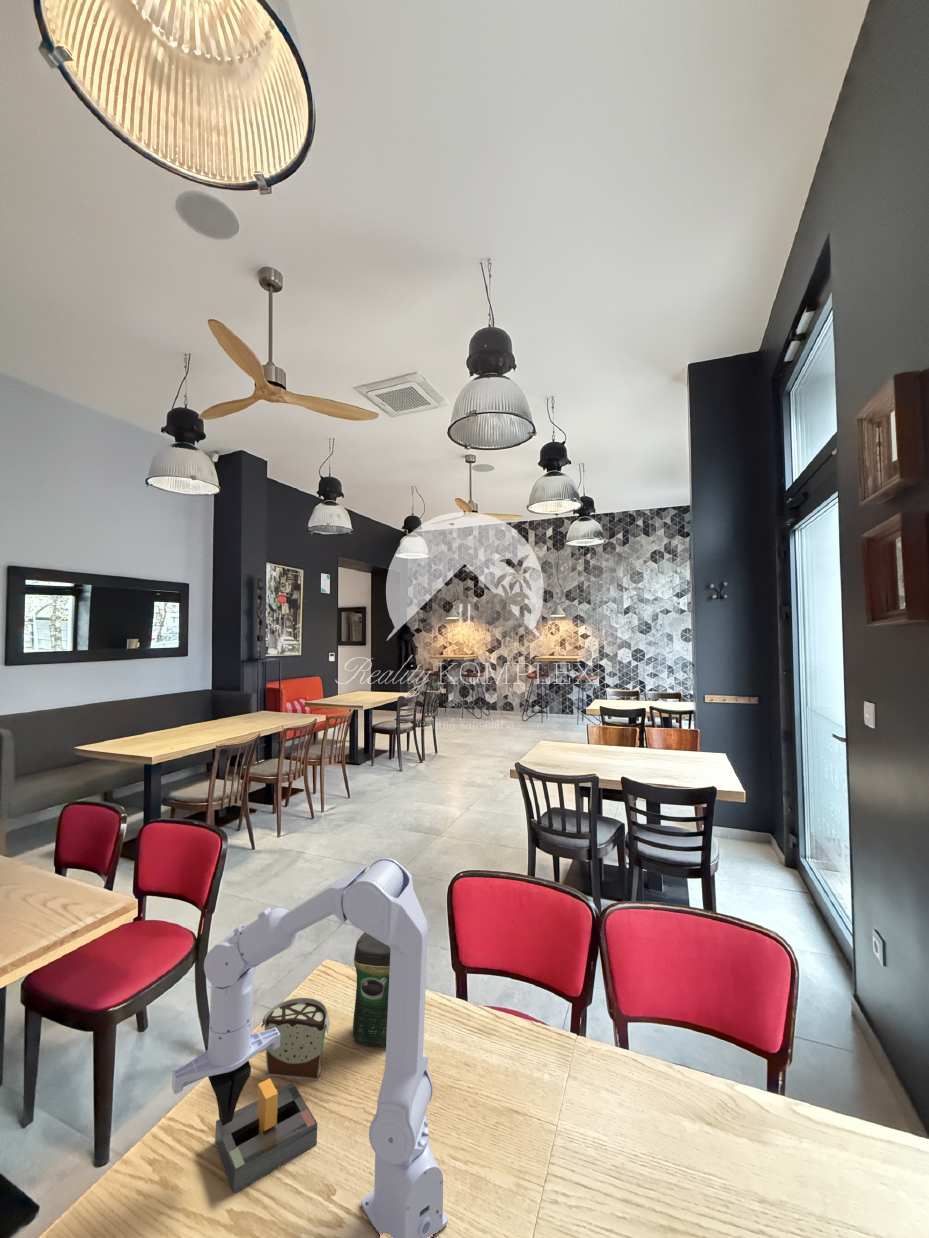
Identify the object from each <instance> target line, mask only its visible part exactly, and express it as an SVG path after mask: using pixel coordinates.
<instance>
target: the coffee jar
mask: <svg viewBox="0 0 929 1238" xmlns="http://www.w3.org/2000/svg"><path fill="white" fill-rule="evenodd" d="M390 951H391V950H390V947H389V946H388V945H386V944H384V943H382V942H381V941H379V940H377V939H375V938H374V937H372V936H370V935H369V934H367V933H365V932H363V933H362V934H361V936H360V937H359V938H358V939H357V941H356V944H355V950H354V957H353V964H354V968H355V972H356V987H355V988H356V989H355V990H356V991H355V1002H354V1009H353V1018H352V1028H351V1029H352V1034H351V1035H352V1038H353V1040H354V1041H355V1042H356V1043H358V1044H359V1045H363V1046H370V1047H383V1048H384V1047H385V1048H386V1036H387V1015H388V993H389V972H390Z"/></svg>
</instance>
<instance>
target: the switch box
mask: <svg viewBox="0 0 929 1238" xmlns="http://www.w3.org/2000/svg"><path fill="white" fill-rule="evenodd" d="M276 1090H277V1092H278V1106H277V1124H276V1125H275V1126H274V1127H272V1128H270V1129H268V1130H266V1131H264V1132H263V1133H261V1134H259V1118H258V1116H257V1102H258V1099H257V1100H254V1101H253V1102H251V1103H248V1104H246V1105H245V1106H242V1107H241V1108H239V1109H237V1110H235V1112H234V1115H233V1120H232V1121H231V1122H229V1123H227V1124H226V1125H224V1126H222V1124H221V1121H220V1119H217V1120H216V1121H215V1133H214V1134H215V1136H214V1143H215V1147H216V1149H217V1152H218V1155H219V1158H220V1160H221V1164H222V1165H223V1169H224V1171H225V1175H226V1177H227V1180H228V1183H229V1186H230V1188H231V1192H232V1194H233V1195H235V1194H238V1193H239V1192H240V1191H242V1190H244V1189H246V1188H247V1187H249V1186H250V1185H249V1184H251V1183H252V1182H254V1181H256V1180H257V1181H259V1180H261V1179H262V1178H264V1177H265V1176H267V1175H269V1174H271V1173H272V1172H274V1171H275V1170H277V1169H279V1168H280V1167H282V1166H283V1165H285V1164H287V1163H289V1162H290V1161H292V1160H293V1159H295V1158H297V1157H298V1156H300V1155H302V1154H304V1153H305V1152H307V1151H309V1150H310V1149H311V1148H313V1147H316V1145H318V1144H317V1143H318V1121H317V1120H316V1119H315V1117H314V1115H313V1113H312V1111H311V1110H310V1108H309V1106H308V1105H307V1104H306V1101H305V1100H304V1098H303V1096H302V1094H301V1093H300V1091H299V1090H298V1088H297V1086H296V1084H295V1083H294V1081H292V1082H290V1083H288V1084H286V1085H284V1086H282V1087H280V1088H278V1089H276ZM284 1163H285V1164H284ZM281 1165H282V1166H281ZM279 1166H280V1167H279ZM278 1167H279V1168H278ZM273 1170H274V1171H273ZM268 1173H269V1174H268ZM266 1174H267V1175H266ZM264 1175H265V1176H264ZM263 1176H264V1177H263ZM261 1177H262V1178H261ZM260 1178H261V1179H260ZM258 1179H259V1180H258ZM257 1181H256V1182H257ZM254 1183H255V1182H254ZM252 1184H253V1183H252ZM252 1184H251V1185H252ZM248 1185H249V1186H248Z"/></svg>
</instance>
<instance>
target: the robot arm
mask: <svg viewBox="0 0 929 1238" xmlns="http://www.w3.org/2000/svg"><path fill="white" fill-rule="evenodd" d="M368 866H369V865H368V864H367V865H363V866H360V867H359V868H357V869H355V870H353V871H351V872H350V873H348V874H346V875H344V876H342V877H340V878H338V879H337V880H335V881H334V882H332V883H331V884H329V885H327V886H325V887H324V888H323V889H321V890H319V891H318V892H316V893H315V894H313V895H312V896H310V897H308V898H307V899H306V900H303V901H302V902H301V903H299V904H298V905H295V906H294V907H293V908H291V909H290V910H288V909H287V908H284V907H276V908H274V909H272V910H271V908H270V907H267V908H265V909H264V910H262V911H261V912H260V913H258V914H257V917H258V918H256V919H255V920H253V921H251V922H249V923H248V924H247V925H244V924H243V923H242V924H240V925H238V926H237V927H236V928H235V929H234V930H233V931H232V932H231V933H229V935H227V936H226V937H224V938H223V939H222V940H221V941H220V942H218V943H217V944H215V945H214V946H213V947H211V949H210V950H209V951H208V953H206V956H205V958H204V962H203V970H204V975H205V978H207V980H208V982H209V983H210V984H211V988H210V989H211V990H210V1007H209V1008H210V1009H209V1027H208V1044H207V1047H208V1048H207V1050H206V1051H204V1052H202V1053H201V1054H199V1055H198V1056H196V1057H195V1058H194V1059H192V1060H190V1061H189V1062H187V1063H186V1064H185V1065H182V1066H181V1067H179V1068H177V1069H175V1070H172V1073H171V1074H172V1075H171V1076H172V1077H171V1089H172V1092H173V1094H174V1095H177V1094H179V1093H181V1092H183V1090H184V1088H185V1087H187V1086H189V1085H191V1084H193V1083H197V1082H198V1081H201V1080H203V1079H205V1078H208V1080H209V1082H210V1085H211V1088H212V1090H213V1092H214V1095H215V1100H216V1102H217V1108H218V1109H217V1110H218V1118H219V1119H220V1121H221V1124H222V1126H224V1125H226V1124H227V1123H229V1122H231V1121H232V1120H233V1115H234V1112H235V1111H236V1108H237V1104H238V1101H239V1098H240V1096H241V1093H242V1091H243V1089H244V1087H245V1085H246V1083H247V1081H248V1080H249V1079H250V1076H251V1072H252V1065H251V1064H250V1060H251V1059H253V1057H255V1056H257V1055H258V1054H260V1053H263V1052H266V1050H267V1049H269V1048H272V1049H276V1048H278V1047H280V1033H279V1031H278V1030H277V1028H276V1027H275V1028H273V1029H270V1030H266V1031H265V1030H263V1031H258V1032H253V1033H252V1009H253V1007H252V1005H253V990H254V989H253V988H254V975H255V973H256V967H258V966H259V965H261V964H262V963H265V962H267V961H269V960H270V959H272V958H273V957H275V956H277V955H279V954H280V953H282V952H283V951H286V950H287V949H289V948H291V946H293V944H294V942H295V940H296V938H297V933H299V932H300V931H303V930H305V929H307V928H308V927H311V926H313V925H314V924H316V923H318V922H320V921H322V920H324V919H326V918H329V917H330V916H332V915H334V916H335V917H336V918H337V920H339V921H340V922H341V923H346V922H347V920H348V922H350V923H351V925H353V926H354V927H355V928H357V929H358V930H360V931H362V932H363V933H364V932H365V933H367V934H369V935H370V936H372V937H374V938H375V939H377V940H379V941H381V942H382V943H384V944H386V945H388V946H389V947H390V950H391V951H390V972H389V993H388V1015H387V1036H386V1047H385V1058H384V1059H385V1060H384V1061H385V1063H384V1071H383V1076H382V1080H381V1084H380V1088H379V1092H378V1096H377V1104H376V1105H377V1107H376V1113H375V1114H374V1115H373V1117H372V1119H371V1122H370V1125H369V1129H368V1139H369V1143H370V1146H371V1148H372V1150H373V1152H374V1190H372V1191H371V1192H369V1193H368V1194H367V1195H365V1196H364V1197H363V1198H362V1199H361V1207H362V1209H363V1210H364V1213H365V1214H366V1216H367V1217H368V1219H369V1221H370V1223H371V1225H372V1226H373V1228H374V1227H375V1228H376V1229H375V1228H374V1229H375V1231H376V1230H377V1231H378V1232H379V1233H380V1234H381V1235H382V1234H383V1233H387V1234H390V1235H391V1237H393V1238H427V1237H430V1236H431V1235H433V1234H435V1233H436V1234H437V1233H438V1232H440V1231H441V1230H442V1229H443V1228H444V1227H446V1226H447V1225H448V1223H449V1222H448V1221H449V1218H448V1216H447V1214H446V1213H445V1212H444V1177H443V1172H442V1170H441V1167H439V1164H438V1163H437V1161H436V1160H435V1157H434V1154H433V1153H432V1148H431V1143H430V1138H429V1137H430V1131H429V1130H430V1129H429V1122H428V1119H427V1115H426V1112H427V1109H428V1106H429V1103H430V1102H431V1100H432V1097H433V1093H434V1083H433V1078H432V1076H431V1073H430V1071H429V1066H428V1064H429V1063H428V1061H429V1056H428V1055H427V1054H425V1053H424V1039H425V1038H424V1035H425V1018H426V1017H425V1011H426V989H427V988H426V987H427V986H426V985H427V966H428V964H427V963H428V942H429V941H428V940H429V939H428V936H429V925H428V921H427V919H426V916H425V914H424V911H423V909H422V906H421V904H420V901H419V899H418V897H417V895H416V893H415V890H414V885H413V876H412V874H411V872H409V871H408V870H407V869H406V868H405V867H404V866H403V865H402V864H400V863H399V862H398V861H397V860H396V859H393V858H391V857H381V858H378V859H377V860H375V861H373V862H372V864H370V866H369V868H368ZM367 868H368V869H367ZM219 1119H218V1120H219ZM439 1230H440V1231H439ZM377 1231H376V1232H377ZM436 1234H435V1235H436Z"/></svg>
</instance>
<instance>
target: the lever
mask: <svg viewBox="0 0 929 1238" xmlns="http://www.w3.org/2000/svg"><path fill="white" fill-rule="evenodd" d="M257 1085H258V1086H257V1100H258V1102H257V1116H258V1118H259V1134H261V1133H263V1132H264V1131H266V1130H268V1129H270V1128H272V1127H274V1126H275V1125H276V1124H277V1106H278V1092H277V1090H278V1089H276V1086H275V1084H274V1083H273V1081H272V1079H271V1078H267V1079H265V1080H264V1081H261V1082H260V1083H257Z"/></svg>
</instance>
